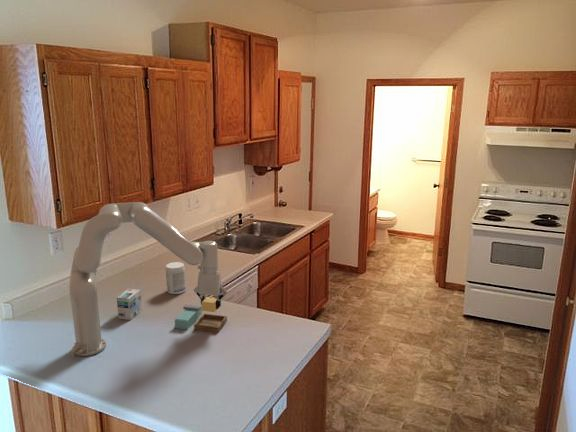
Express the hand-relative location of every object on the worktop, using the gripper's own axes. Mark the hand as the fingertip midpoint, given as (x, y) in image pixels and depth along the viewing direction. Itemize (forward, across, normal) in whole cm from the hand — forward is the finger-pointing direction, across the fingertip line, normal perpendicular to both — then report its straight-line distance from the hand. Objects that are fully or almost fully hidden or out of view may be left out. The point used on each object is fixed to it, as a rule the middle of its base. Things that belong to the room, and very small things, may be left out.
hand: (210, 306), depth 206 cm
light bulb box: (+9, -41, +1) cm, 42 cm away
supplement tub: (+9, -32, +31) cm, 45 cm away
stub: (+1, 0, 0) cm, 1 cm away
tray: (+9, 0, 0) cm, 9 cm away
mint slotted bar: (+9, -12, +2) cm, 15 cm away
